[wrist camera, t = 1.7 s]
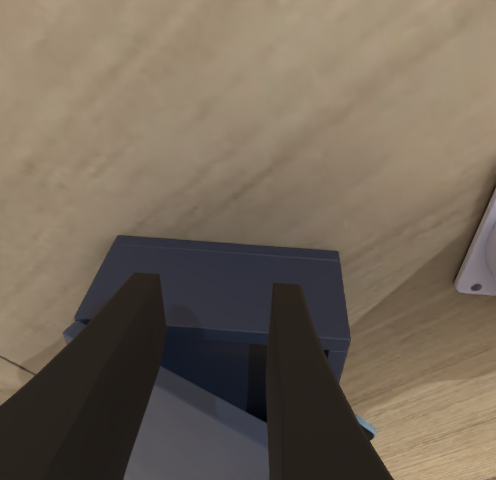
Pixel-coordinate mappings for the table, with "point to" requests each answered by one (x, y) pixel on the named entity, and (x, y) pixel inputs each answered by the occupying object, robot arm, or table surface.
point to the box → (226, 307)
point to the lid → (194, 434)
